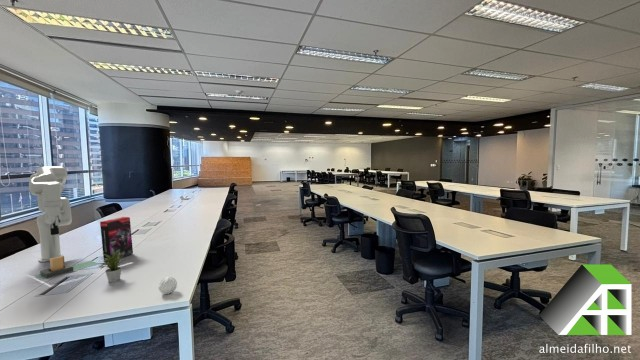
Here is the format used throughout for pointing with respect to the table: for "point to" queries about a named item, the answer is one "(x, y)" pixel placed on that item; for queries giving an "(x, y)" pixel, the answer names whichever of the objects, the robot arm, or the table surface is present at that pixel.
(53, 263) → the plug
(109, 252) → the graphics card box
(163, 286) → the white rough ball
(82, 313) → the table surface
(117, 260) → the house plant
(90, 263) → the header board
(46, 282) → the table surface
